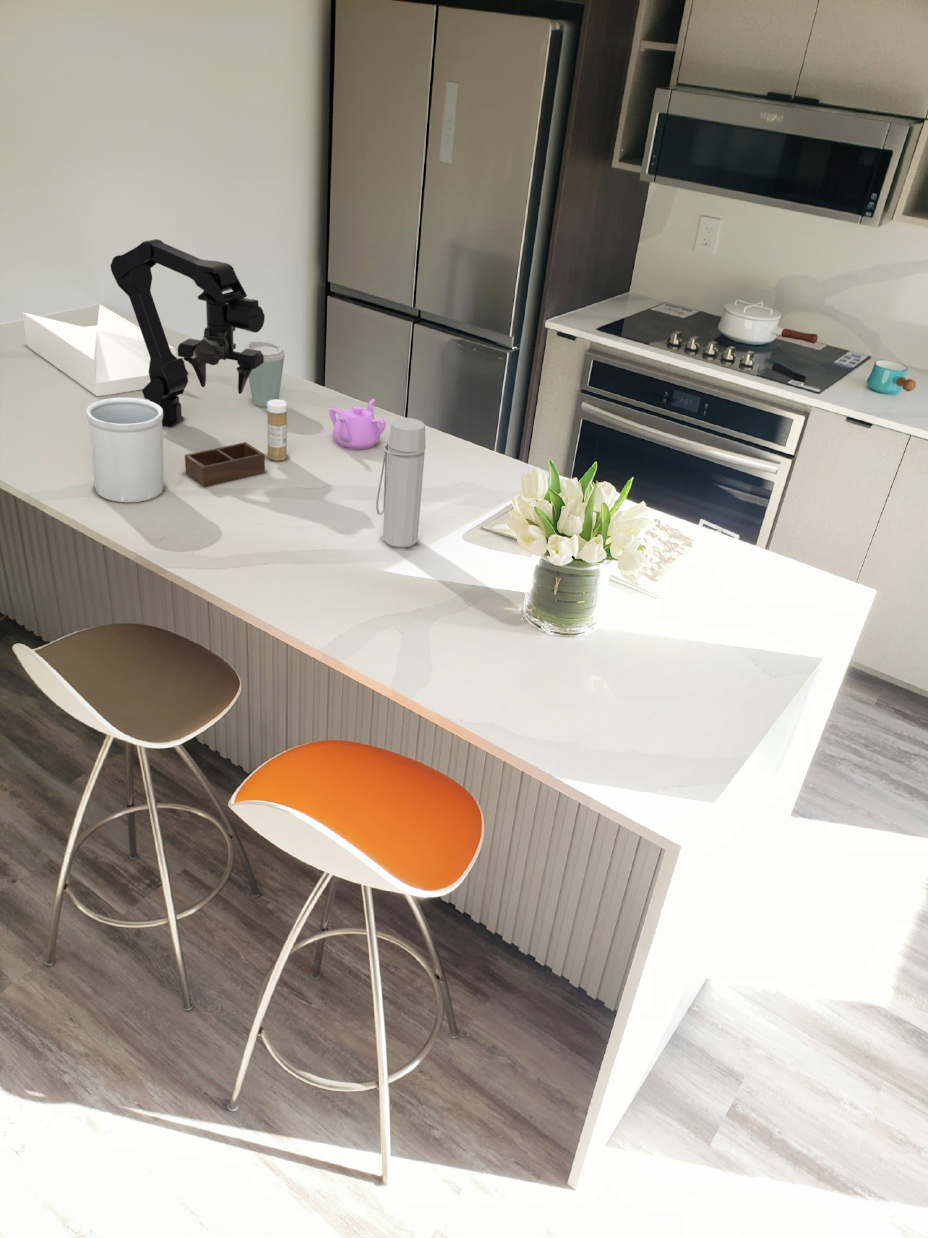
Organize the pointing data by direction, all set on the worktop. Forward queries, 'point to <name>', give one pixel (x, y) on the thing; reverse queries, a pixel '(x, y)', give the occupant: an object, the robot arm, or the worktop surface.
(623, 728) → the worktop surface
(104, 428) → the utensil holder
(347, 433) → the teapot
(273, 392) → the disposable coffee cup
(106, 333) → the white shallow tray
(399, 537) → the water bottle
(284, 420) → the sprinkles bottle
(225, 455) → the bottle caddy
